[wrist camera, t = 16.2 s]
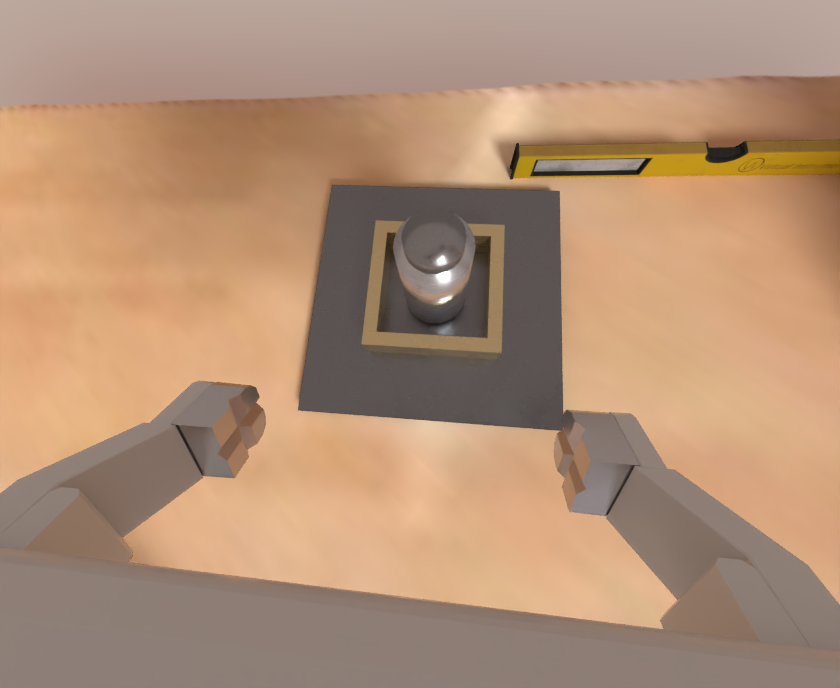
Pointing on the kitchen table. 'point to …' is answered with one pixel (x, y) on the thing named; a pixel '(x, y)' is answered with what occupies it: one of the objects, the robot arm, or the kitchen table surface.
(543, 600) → the kitchen table surface
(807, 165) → the spirit level
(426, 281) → the domed metal canister
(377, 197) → the collar plate
